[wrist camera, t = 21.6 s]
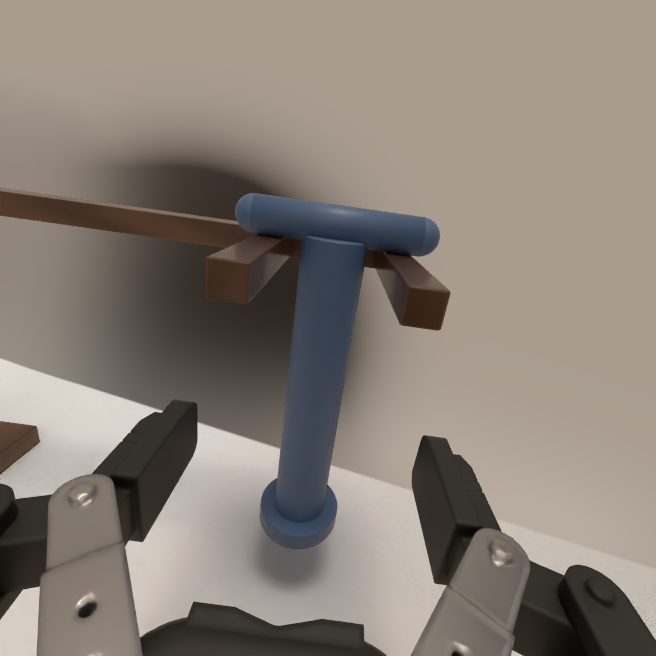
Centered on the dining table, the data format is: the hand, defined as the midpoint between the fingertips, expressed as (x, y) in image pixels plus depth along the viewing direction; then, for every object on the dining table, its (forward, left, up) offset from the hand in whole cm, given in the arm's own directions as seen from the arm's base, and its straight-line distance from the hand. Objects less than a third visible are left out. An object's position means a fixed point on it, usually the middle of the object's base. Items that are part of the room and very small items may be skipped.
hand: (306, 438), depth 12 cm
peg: (0, -5, -9) cm, 11 cm away
